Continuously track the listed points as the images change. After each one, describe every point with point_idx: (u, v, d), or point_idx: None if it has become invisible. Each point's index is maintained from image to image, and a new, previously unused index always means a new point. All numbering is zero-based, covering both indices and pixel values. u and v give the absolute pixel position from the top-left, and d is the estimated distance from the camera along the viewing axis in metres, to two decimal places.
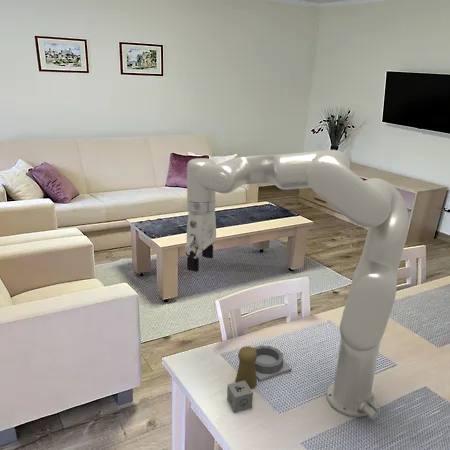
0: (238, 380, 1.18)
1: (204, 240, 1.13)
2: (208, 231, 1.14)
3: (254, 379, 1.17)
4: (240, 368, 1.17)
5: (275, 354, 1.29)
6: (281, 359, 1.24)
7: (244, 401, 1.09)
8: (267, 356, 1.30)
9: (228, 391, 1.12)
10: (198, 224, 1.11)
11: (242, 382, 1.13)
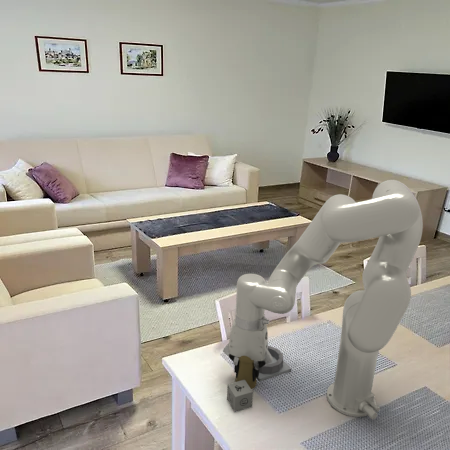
0: (238, 380, 1.18)
1: None
2: None
3: None
4: (240, 368, 1.17)
5: (275, 354, 1.29)
6: (281, 359, 1.24)
7: (244, 400, 1.09)
8: None
9: (228, 391, 1.12)
10: (267, 332, 1.14)
11: (242, 381, 1.13)
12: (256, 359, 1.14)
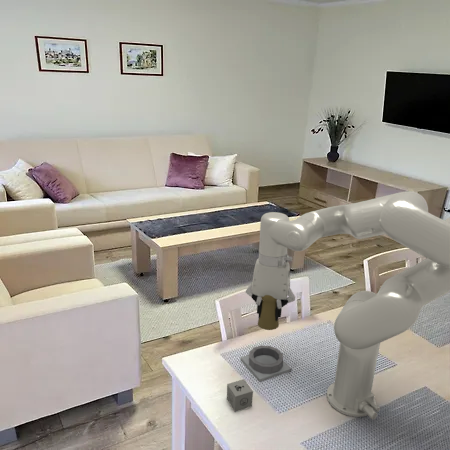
0: (261, 320, 1.20)
1: None
2: None
3: None
4: (263, 308, 1.19)
5: (275, 354, 1.29)
6: (281, 359, 1.24)
7: (244, 400, 1.09)
8: (267, 356, 1.30)
9: (228, 390, 1.12)
10: (289, 270, 1.16)
11: (241, 381, 1.13)
12: (279, 297, 1.16)
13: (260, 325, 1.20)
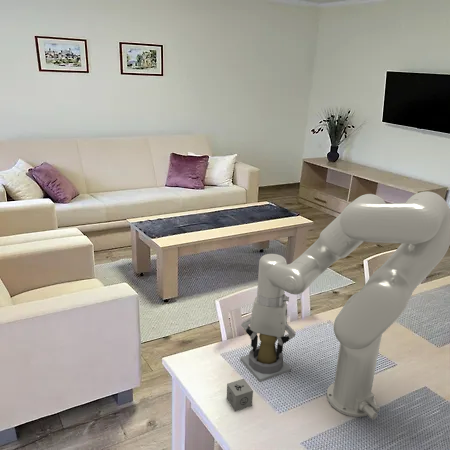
0: (259, 360, 1.24)
1: None
2: None
3: (274, 359, 1.24)
4: (261, 349, 1.23)
5: None
6: (281, 359, 1.24)
7: (244, 399, 1.10)
8: None
9: (228, 390, 1.12)
10: None
11: (241, 380, 1.13)
12: (276, 335, 1.20)
13: None
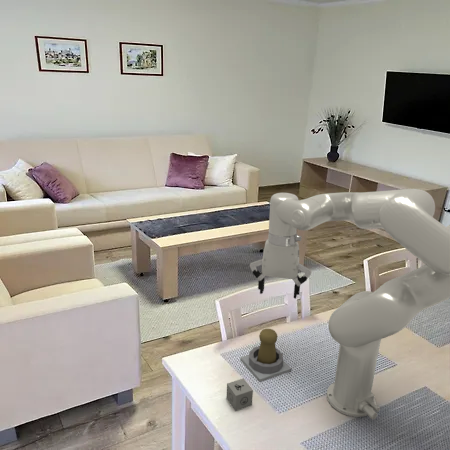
0: (259, 360, 1.24)
1: None
2: None
3: (274, 359, 1.24)
4: (261, 349, 1.23)
5: None
6: (281, 359, 1.24)
7: (244, 399, 1.10)
8: None
9: (228, 390, 1.12)
10: None
11: (241, 380, 1.13)
12: (289, 277, 1.18)
13: None
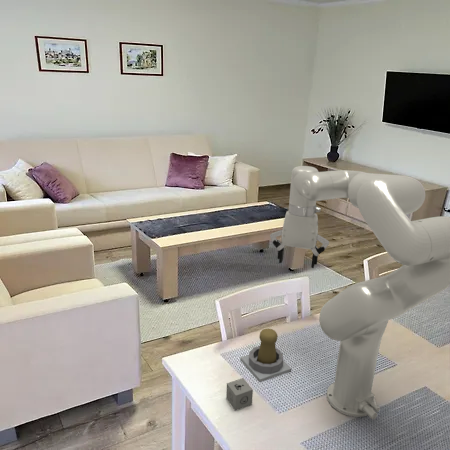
0: (259, 360, 1.24)
1: None
2: None
3: (274, 359, 1.24)
4: (261, 349, 1.23)
5: None
6: (281, 359, 1.24)
7: (244, 398, 1.10)
8: None
9: (227, 390, 1.12)
10: (317, 222, 1.24)
11: (241, 380, 1.13)
12: (307, 247, 1.23)
13: None
